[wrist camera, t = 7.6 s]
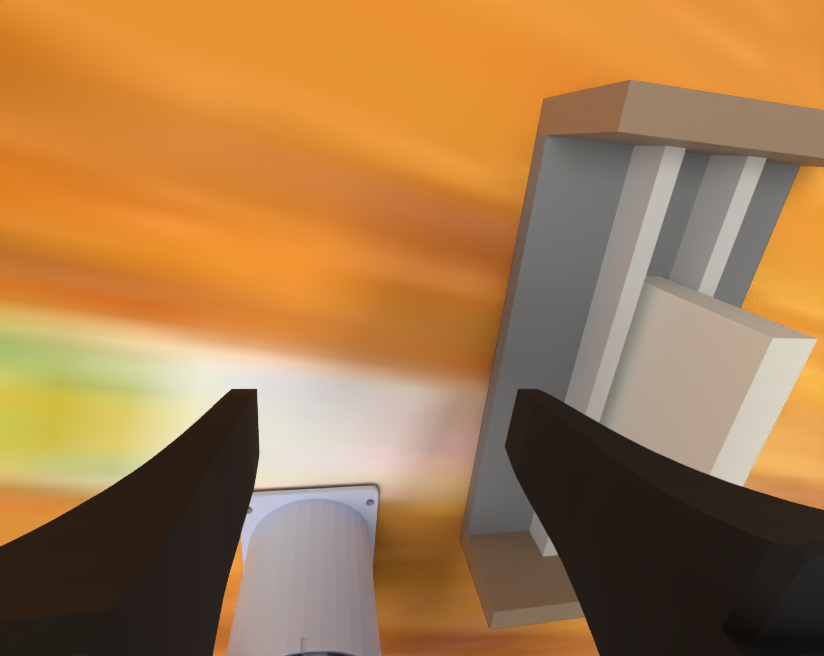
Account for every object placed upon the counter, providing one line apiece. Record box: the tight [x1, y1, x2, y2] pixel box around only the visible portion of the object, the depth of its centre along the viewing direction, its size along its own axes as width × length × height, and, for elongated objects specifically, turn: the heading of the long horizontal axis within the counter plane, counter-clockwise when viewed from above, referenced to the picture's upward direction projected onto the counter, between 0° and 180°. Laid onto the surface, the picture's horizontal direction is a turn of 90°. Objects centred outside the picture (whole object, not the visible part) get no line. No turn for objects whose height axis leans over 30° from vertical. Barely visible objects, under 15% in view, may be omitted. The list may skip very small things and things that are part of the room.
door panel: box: [599, 276, 817, 487], centre depth 21 cm, size 12×2×8 cm, turn 174°
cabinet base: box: [460, 80, 824, 630], centre depth 23 cm, size 27×14×6 cm, turn 175°
